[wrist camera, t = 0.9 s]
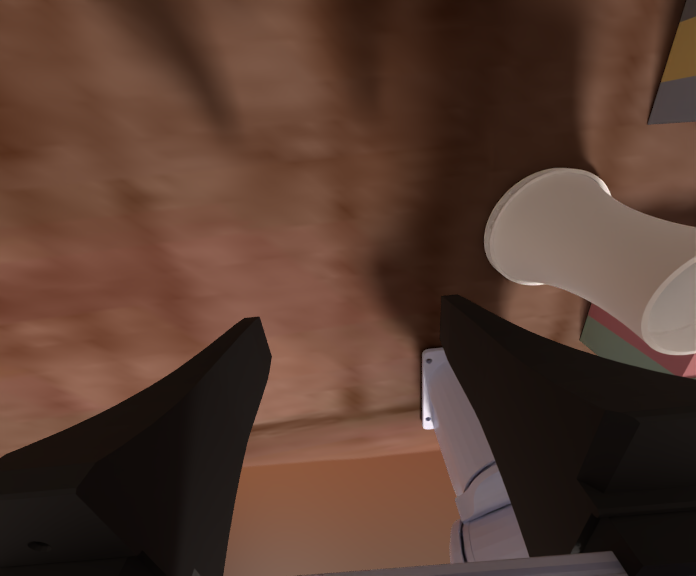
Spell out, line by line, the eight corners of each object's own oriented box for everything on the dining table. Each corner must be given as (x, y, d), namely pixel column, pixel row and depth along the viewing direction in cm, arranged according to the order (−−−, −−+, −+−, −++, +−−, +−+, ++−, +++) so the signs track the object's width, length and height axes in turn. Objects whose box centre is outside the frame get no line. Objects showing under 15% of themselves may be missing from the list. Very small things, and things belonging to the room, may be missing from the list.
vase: (624, 180, 18) (911, 215, 9) (562, 286, 21) (725, 390, 12) (512, 156, 17) (702, 169, 8) (467, 270, 20) (565, 369, 11)
